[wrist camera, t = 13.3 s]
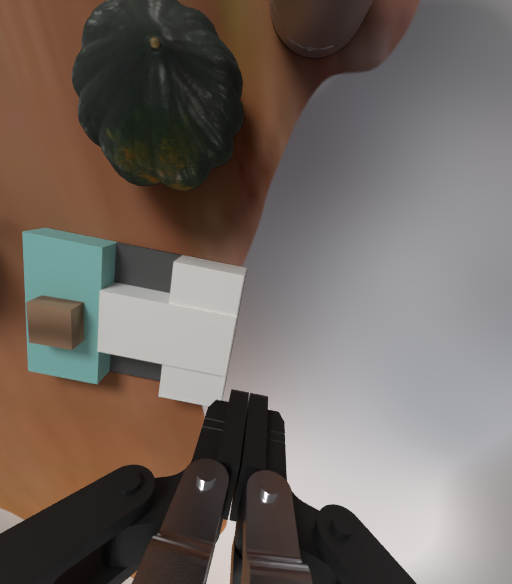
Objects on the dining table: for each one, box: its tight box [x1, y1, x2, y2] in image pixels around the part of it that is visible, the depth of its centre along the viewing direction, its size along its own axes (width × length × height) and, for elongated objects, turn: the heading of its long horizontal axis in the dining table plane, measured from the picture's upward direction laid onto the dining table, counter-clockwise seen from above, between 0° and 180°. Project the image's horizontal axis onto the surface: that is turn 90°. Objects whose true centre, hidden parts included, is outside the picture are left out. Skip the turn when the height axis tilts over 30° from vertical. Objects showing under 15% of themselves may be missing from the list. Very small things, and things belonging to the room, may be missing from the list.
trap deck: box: [22, 228, 247, 406], centre depth 40 cm, size 18×25×4 cm
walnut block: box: [26, 295, 84, 350], centre depth 37 cm, size 5×5×2 cm
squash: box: [72, 0, 244, 191], centre depth 28 cm, size 14×15×15 cm
